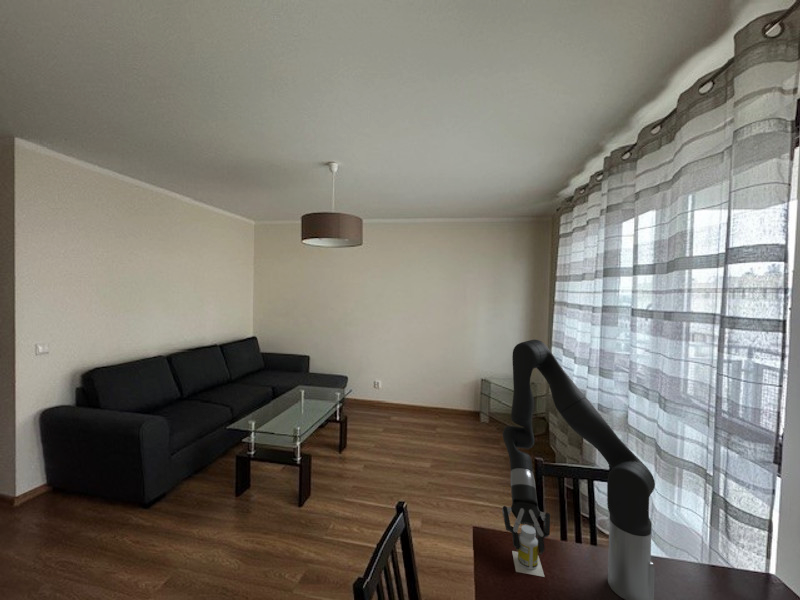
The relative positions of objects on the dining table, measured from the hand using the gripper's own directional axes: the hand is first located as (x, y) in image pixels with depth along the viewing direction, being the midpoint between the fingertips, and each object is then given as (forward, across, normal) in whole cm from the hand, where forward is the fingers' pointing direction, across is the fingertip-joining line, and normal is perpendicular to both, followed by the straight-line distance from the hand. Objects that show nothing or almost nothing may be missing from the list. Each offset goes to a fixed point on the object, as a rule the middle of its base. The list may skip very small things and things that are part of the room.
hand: (529, 551), depth 94 cm
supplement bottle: (+2, 0, +5) cm, 5 cm away
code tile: (+2, 0, +5) cm, 5 cm away
